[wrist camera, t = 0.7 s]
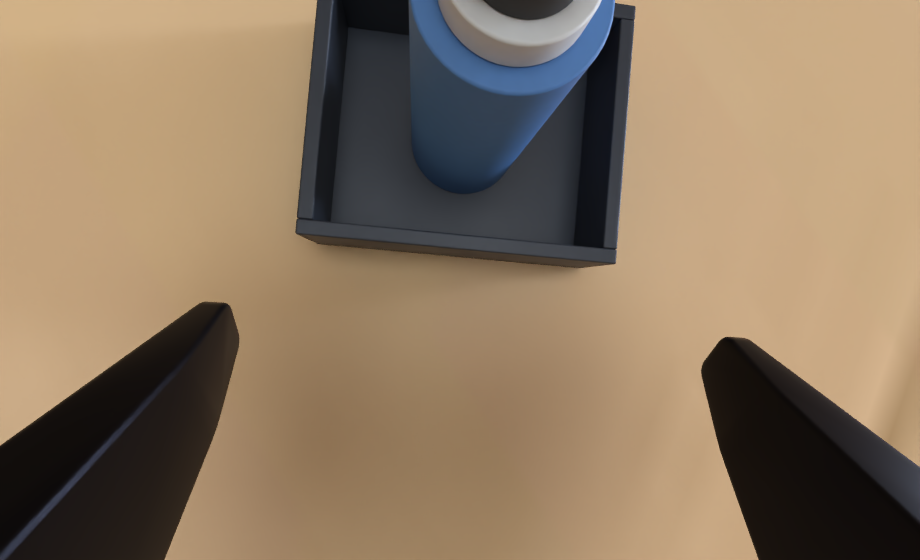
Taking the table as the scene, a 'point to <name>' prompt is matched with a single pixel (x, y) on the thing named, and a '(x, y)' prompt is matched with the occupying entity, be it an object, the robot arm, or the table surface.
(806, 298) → the table surface
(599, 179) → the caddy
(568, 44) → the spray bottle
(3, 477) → the robot arm
